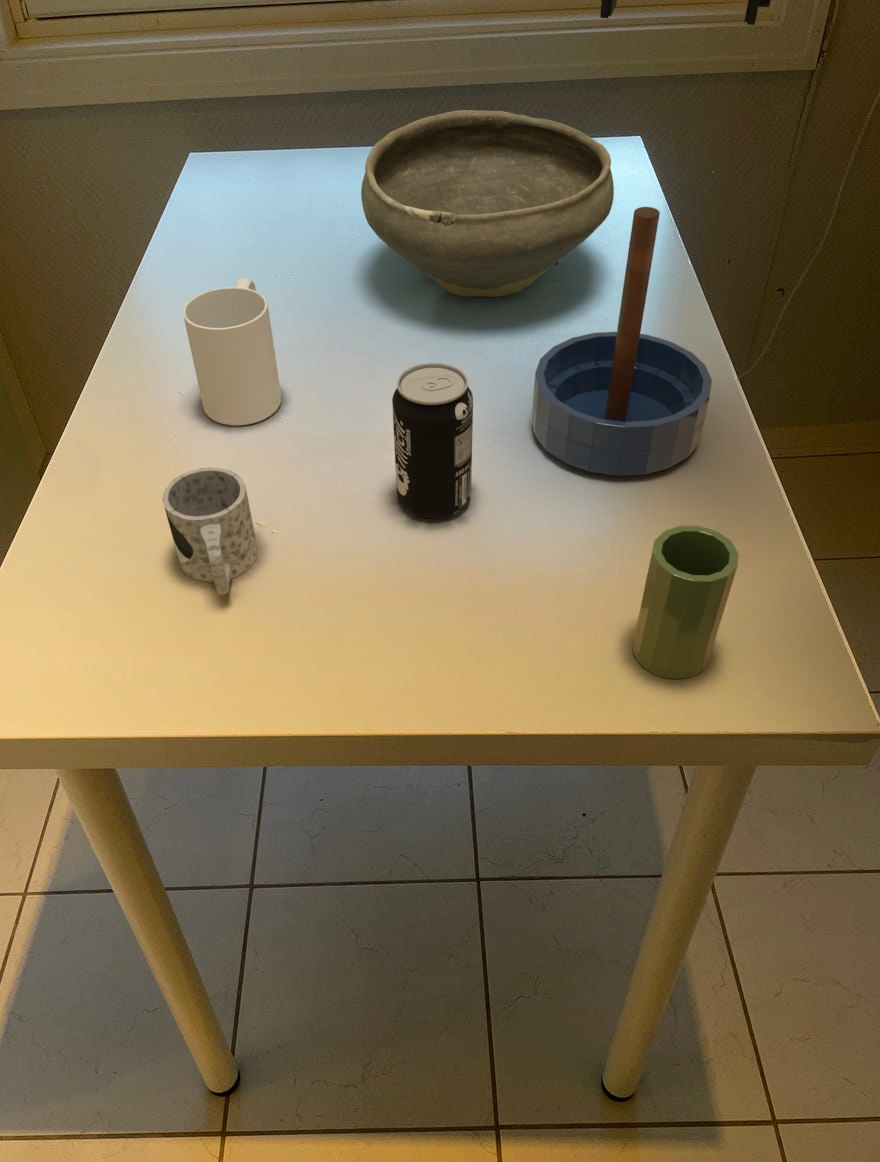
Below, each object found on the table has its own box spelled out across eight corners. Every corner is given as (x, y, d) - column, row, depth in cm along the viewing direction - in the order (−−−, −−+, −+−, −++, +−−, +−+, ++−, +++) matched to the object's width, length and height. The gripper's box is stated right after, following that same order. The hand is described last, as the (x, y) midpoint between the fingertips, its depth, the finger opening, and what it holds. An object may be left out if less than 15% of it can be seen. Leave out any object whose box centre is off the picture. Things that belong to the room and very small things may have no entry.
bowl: (404, 216, 125) (400, 98, 115) (618, 235, 119) (634, 113, 109) (335, 324, 107) (323, 196, 97) (583, 353, 101) (598, 220, 91)
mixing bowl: (704, 397, 95) (717, 342, 90) (690, 494, 85) (704, 437, 80) (548, 377, 98) (553, 323, 94) (516, 468, 88) (520, 412, 84)
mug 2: (176, 536, 83) (159, 474, 79) (252, 523, 84) (240, 461, 79) (185, 616, 77) (167, 554, 72) (267, 601, 78) (255, 539, 73)
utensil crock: (711, 631, 74) (740, 532, 66) (705, 686, 70) (735, 588, 63) (637, 617, 75) (658, 519, 68) (627, 671, 71) (648, 573, 64)
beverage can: (385, 489, 87) (378, 372, 78) (450, 468, 89) (450, 352, 80) (416, 532, 83) (412, 413, 74) (484, 509, 84) (488, 391, 76)
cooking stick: (626, 419, 91) (661, 207, 77) (623, 431, 90) (658, 218, 75) (605, 416, 92) (635, 205, 77) (602, 428, 91) (632, 216, 76)
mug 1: (272, 429, 94) (256, 330, 86) (194, 425, 95) (171, 327, 87) (297, 362, 102) (285, 266, 94) (225, 359, 103) (207, 264, 95)
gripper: (566, -328, 53) (543, 26, 66) (901, -339, 49) (809, 39, 62) (588, -336, 58) (563, -5, 71) (894, -347, 54) (810, 5, 67)
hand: (678, 15), depth 66 cm, fingers open, 9 cm apart
